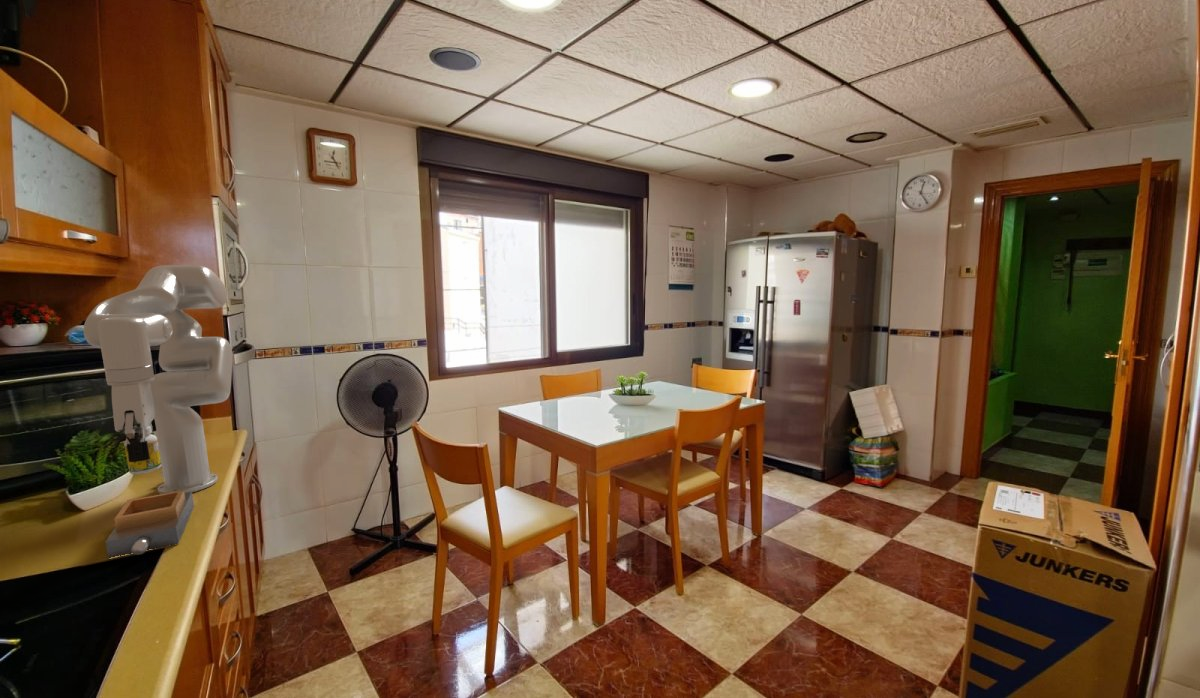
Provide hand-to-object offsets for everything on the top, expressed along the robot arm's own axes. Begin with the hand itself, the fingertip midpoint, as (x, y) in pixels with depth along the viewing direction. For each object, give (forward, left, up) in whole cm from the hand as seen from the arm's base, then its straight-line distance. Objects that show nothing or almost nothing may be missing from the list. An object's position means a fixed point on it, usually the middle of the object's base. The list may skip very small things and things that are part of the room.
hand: (143, 455), depth 110 cm
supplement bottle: (0, 0, -4) cm, 4 cm away
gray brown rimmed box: (+1, -1, -18) cm, 18 cm away
